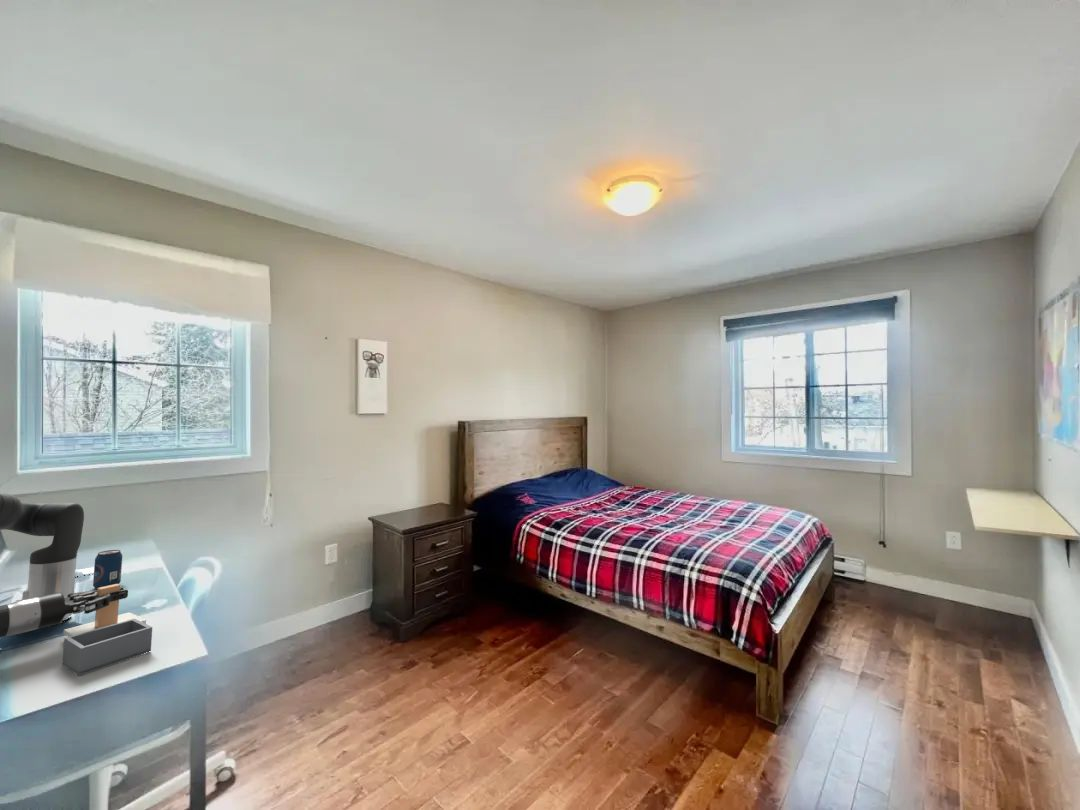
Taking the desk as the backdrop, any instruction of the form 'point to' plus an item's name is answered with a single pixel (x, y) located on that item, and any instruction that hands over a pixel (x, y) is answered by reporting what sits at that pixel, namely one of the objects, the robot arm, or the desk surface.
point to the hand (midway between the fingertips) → (124, 592)
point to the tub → (106, 646)
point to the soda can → (107, 568)
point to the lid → (104, 614)
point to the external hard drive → (87, 570)
